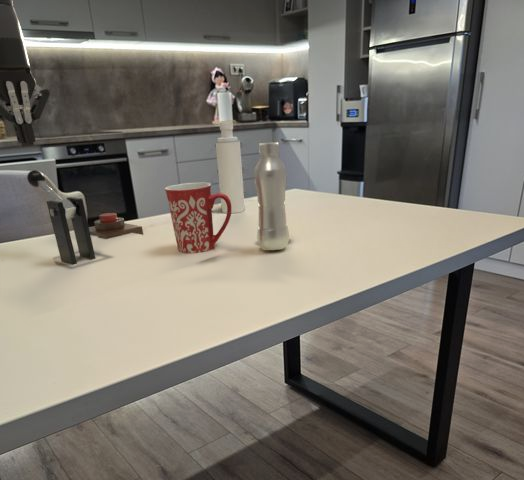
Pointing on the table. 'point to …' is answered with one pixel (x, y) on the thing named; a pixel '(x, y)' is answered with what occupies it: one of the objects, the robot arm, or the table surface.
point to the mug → (194, 216)
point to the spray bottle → (230, 168)
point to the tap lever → (51, 192)
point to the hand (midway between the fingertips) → (27, 145)
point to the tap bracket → (64, 235)
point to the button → (108, 217)
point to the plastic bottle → (271, 198)
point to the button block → (113, 229)
